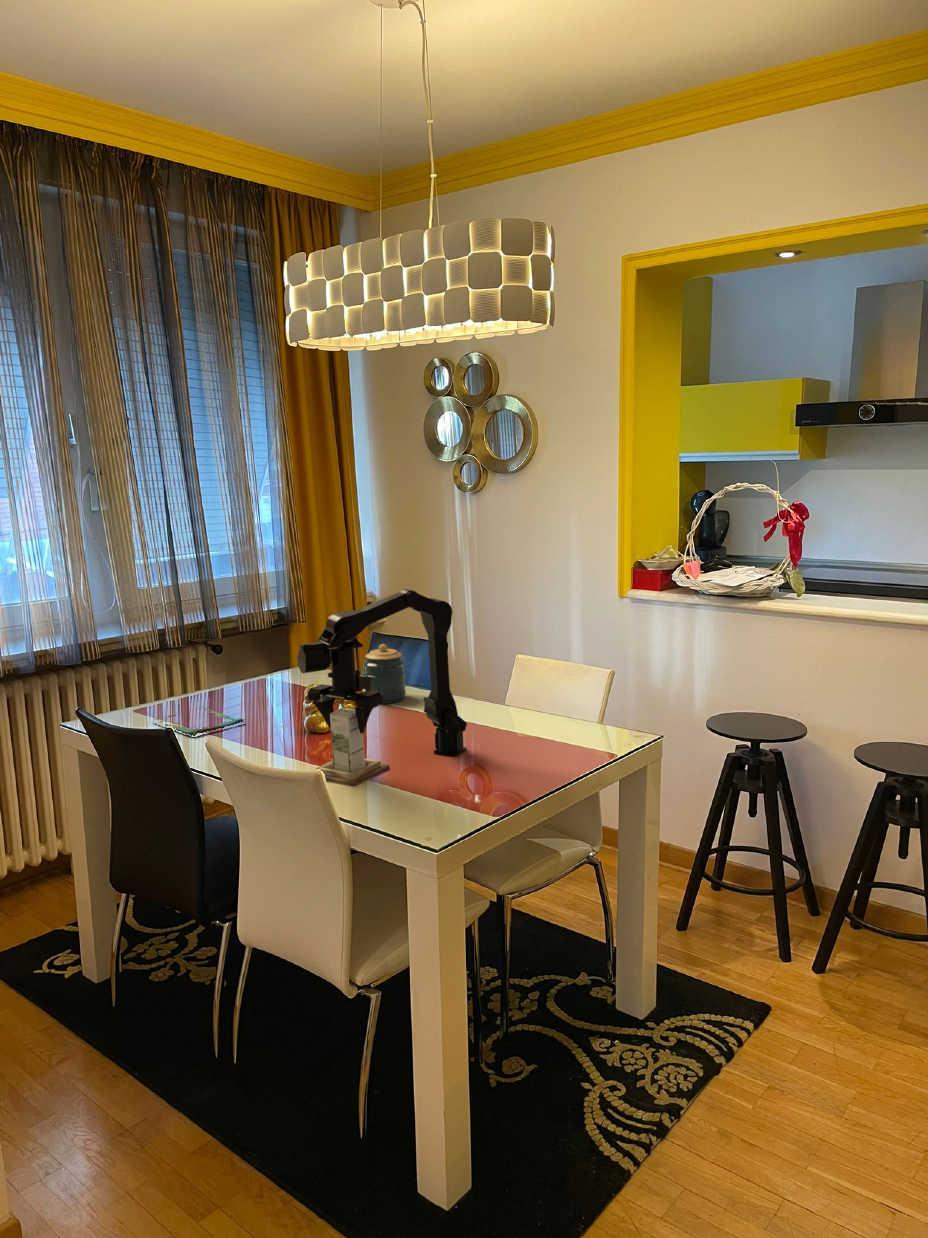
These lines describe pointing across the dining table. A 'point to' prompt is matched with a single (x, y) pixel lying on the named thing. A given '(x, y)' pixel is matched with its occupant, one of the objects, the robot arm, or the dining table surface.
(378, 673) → the canister
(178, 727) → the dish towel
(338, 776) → the socket stand
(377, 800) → the dining table surface
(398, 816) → the dining table surface
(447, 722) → the robot arm
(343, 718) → the syrup box
